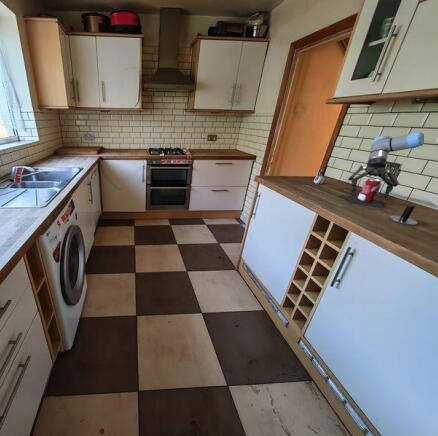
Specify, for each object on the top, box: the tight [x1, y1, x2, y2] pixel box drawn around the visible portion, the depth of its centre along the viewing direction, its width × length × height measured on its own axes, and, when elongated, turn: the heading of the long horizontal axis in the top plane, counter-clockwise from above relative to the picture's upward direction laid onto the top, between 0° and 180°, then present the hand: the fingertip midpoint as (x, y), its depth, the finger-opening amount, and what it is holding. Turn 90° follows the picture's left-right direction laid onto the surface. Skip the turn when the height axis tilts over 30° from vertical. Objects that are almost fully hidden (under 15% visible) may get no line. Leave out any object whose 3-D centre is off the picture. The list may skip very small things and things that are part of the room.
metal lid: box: [388, 204, 418, 227], centre depth 103 cm, size 9×9×8 cm
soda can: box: [357, 178, 383, 202], centre depth 123 cm, size 7×7×12 cm
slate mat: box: [347, 195, 385, 209], centre depth 126 cm, size 14×12×1 cm
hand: (369, 193), depth 122 cm, fingers open, 13 cm apart
